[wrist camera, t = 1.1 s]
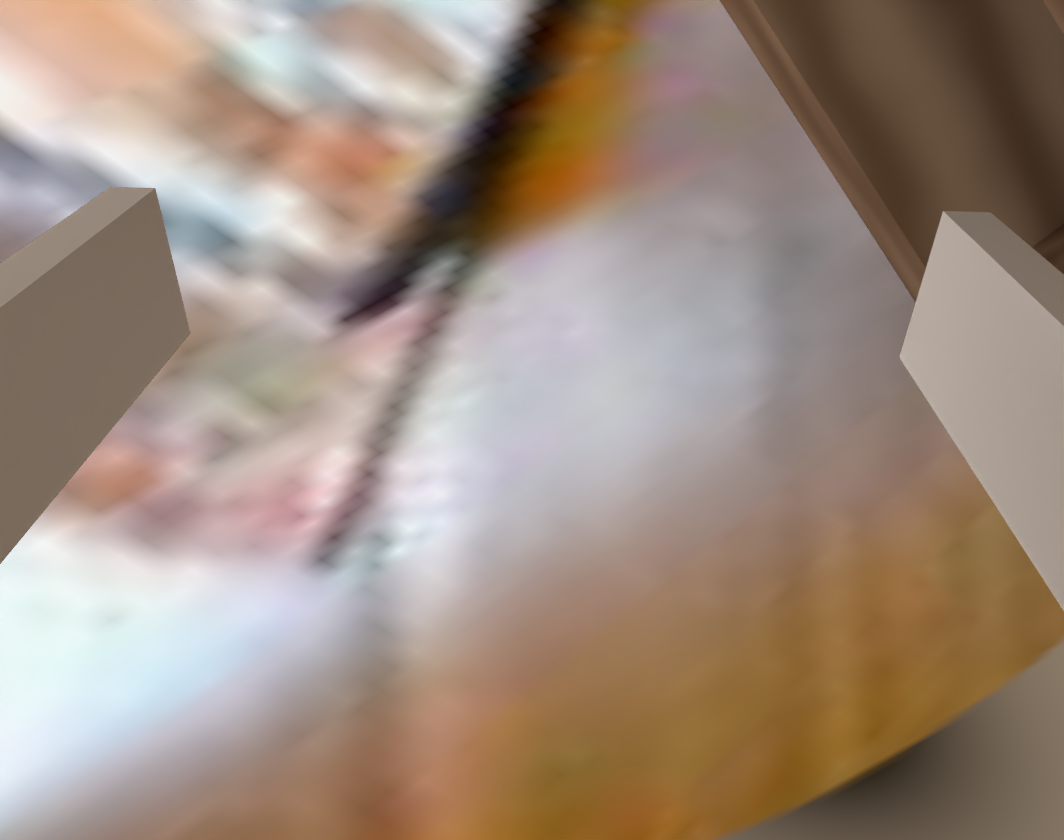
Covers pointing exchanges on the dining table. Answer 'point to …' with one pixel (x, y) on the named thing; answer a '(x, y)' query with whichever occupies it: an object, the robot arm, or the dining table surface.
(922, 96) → the walnut shelf
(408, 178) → the dining table surface
